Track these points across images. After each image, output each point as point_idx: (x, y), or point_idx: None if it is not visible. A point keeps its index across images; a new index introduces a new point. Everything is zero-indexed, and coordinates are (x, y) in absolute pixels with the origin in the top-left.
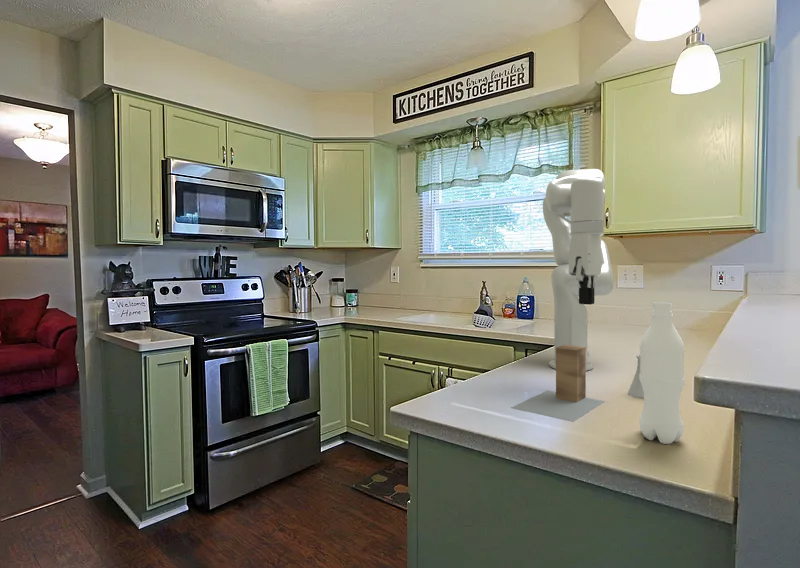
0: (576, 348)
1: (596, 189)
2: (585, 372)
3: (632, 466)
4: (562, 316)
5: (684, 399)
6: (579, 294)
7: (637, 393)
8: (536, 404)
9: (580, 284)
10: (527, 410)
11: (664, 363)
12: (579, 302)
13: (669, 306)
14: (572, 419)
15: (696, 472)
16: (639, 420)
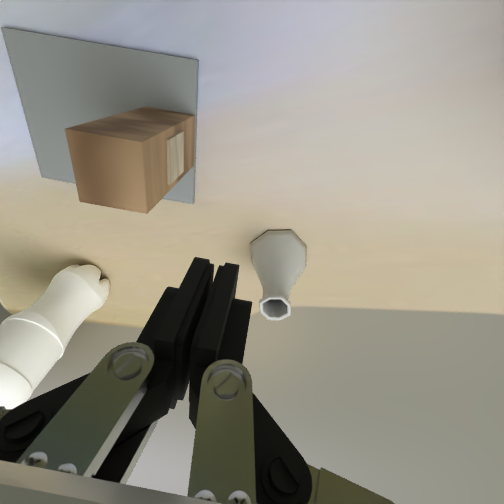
0: (100, 195)
1: None
2: (174, 184)
3: None
4: None
5: (297, 303)
6: (174, 299)
7: (252, 253)
8: (70, 79)
9: (78, 384)
10: (19, 76)
11: None
12: (193, 262)
13: None
14: (49, 173)
15: (31, 301)
16: (61, 271)
